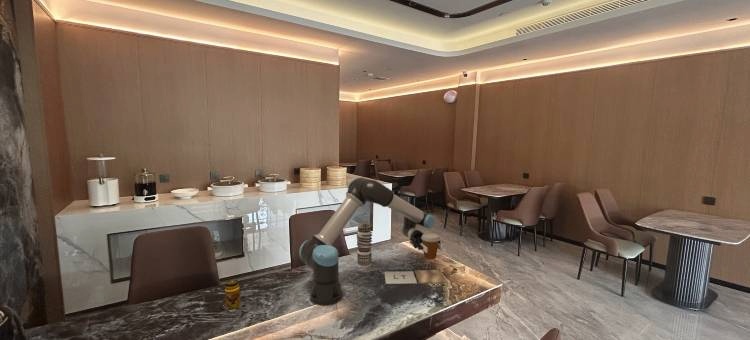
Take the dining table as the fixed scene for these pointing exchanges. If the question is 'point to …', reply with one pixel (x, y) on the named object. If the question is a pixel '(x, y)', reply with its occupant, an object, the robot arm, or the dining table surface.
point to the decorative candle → (364, 245)
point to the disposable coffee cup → (430, 245)
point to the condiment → (232, 294)
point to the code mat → (400, 277)
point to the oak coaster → (429, 276)
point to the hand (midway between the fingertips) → (434, 249)
